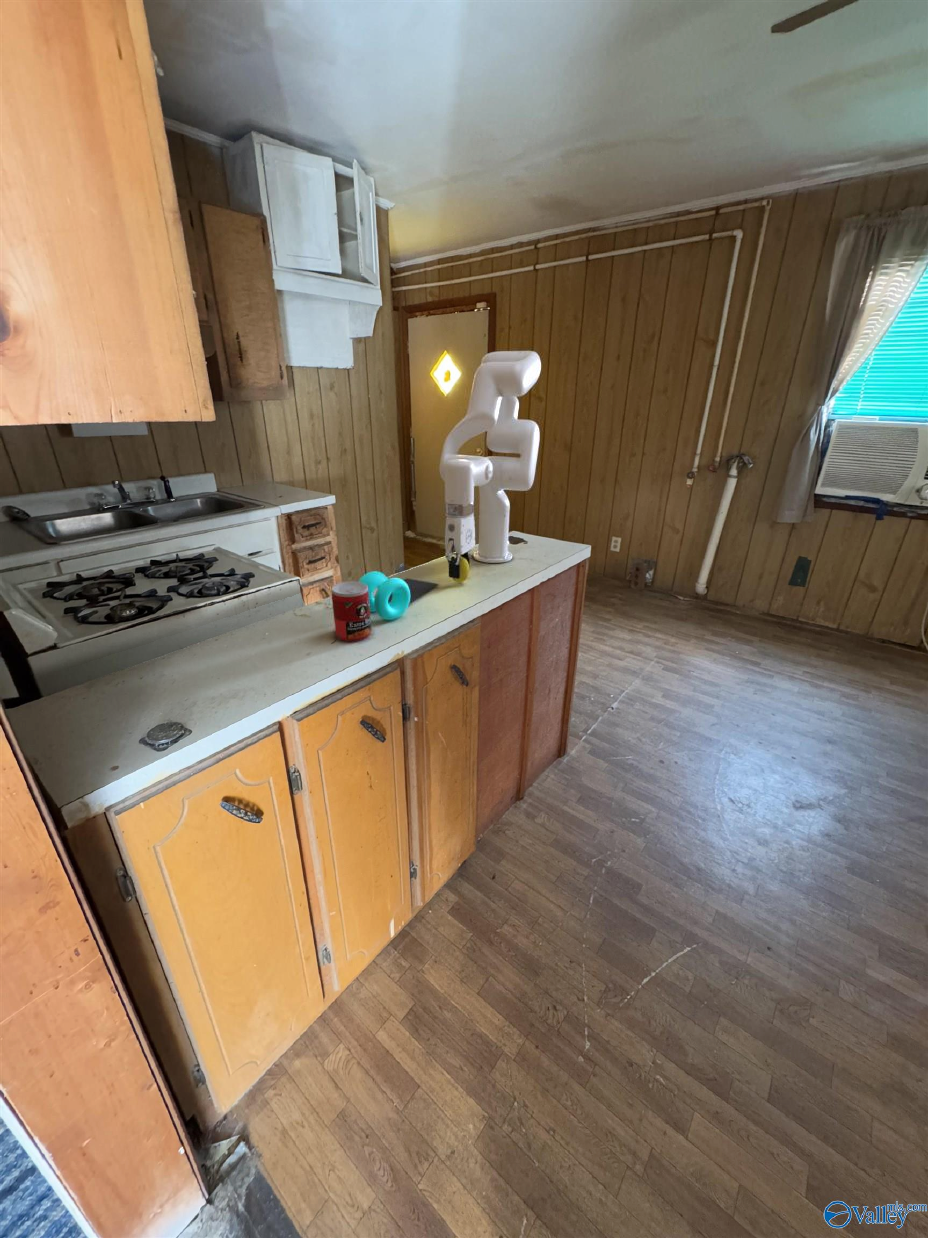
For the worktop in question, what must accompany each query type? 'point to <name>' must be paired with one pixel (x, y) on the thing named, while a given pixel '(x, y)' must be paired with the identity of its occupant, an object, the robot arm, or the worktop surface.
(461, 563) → the lemon
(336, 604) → the canned food
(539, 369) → the robot arm
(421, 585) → the mat
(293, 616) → the worktop surface
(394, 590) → the donuts
